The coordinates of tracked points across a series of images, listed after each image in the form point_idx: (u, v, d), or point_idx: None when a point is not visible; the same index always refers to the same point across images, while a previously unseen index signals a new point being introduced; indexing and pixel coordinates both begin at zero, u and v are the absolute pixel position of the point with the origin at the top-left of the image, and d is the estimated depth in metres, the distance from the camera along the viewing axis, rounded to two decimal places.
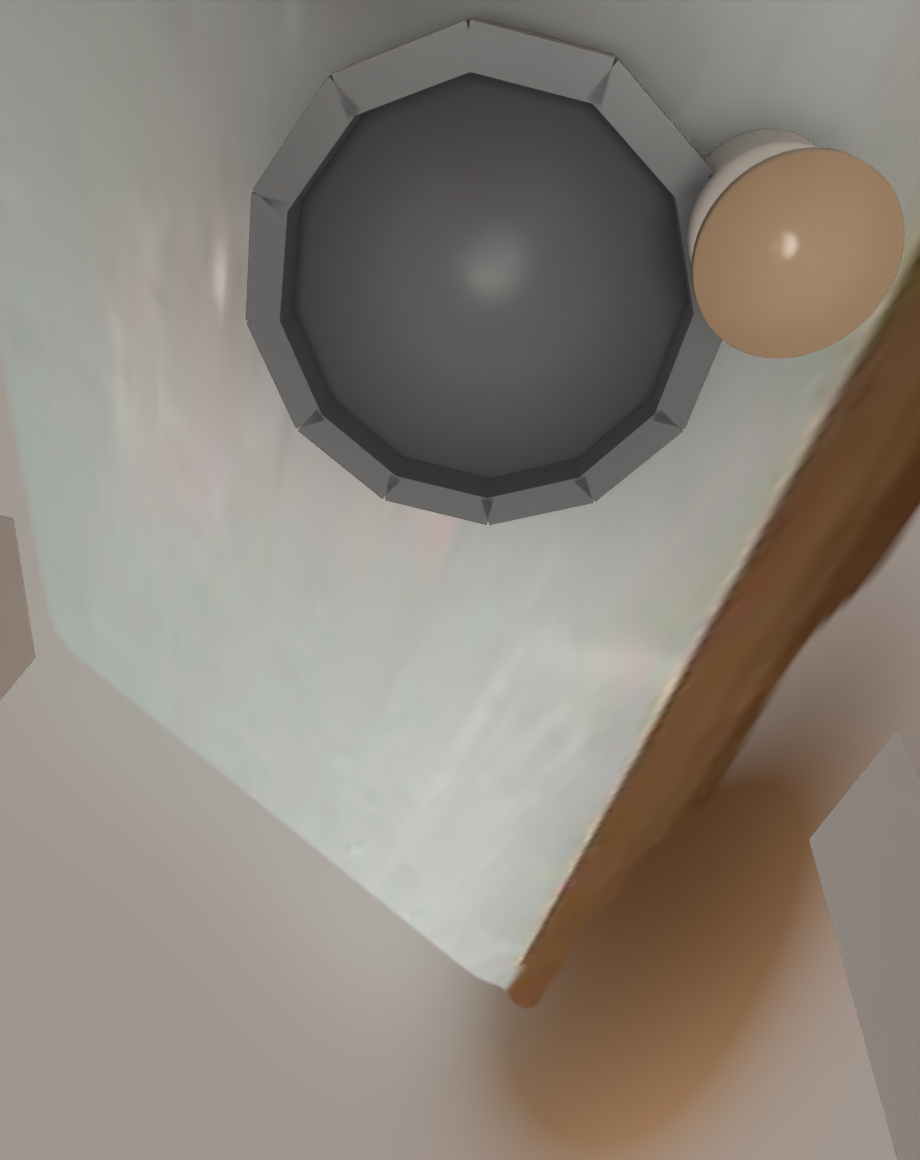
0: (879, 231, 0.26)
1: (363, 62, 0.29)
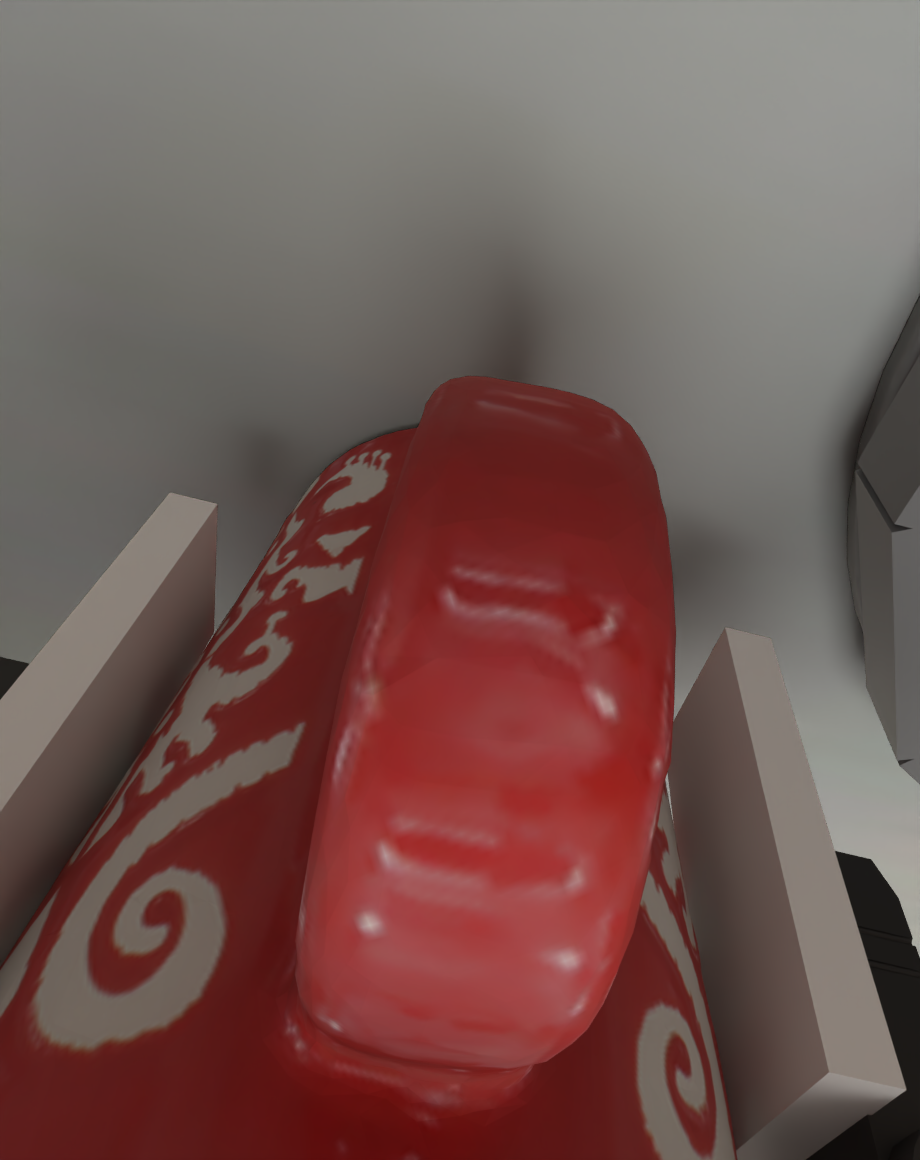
0: None
1: (898, 712, 0.14)
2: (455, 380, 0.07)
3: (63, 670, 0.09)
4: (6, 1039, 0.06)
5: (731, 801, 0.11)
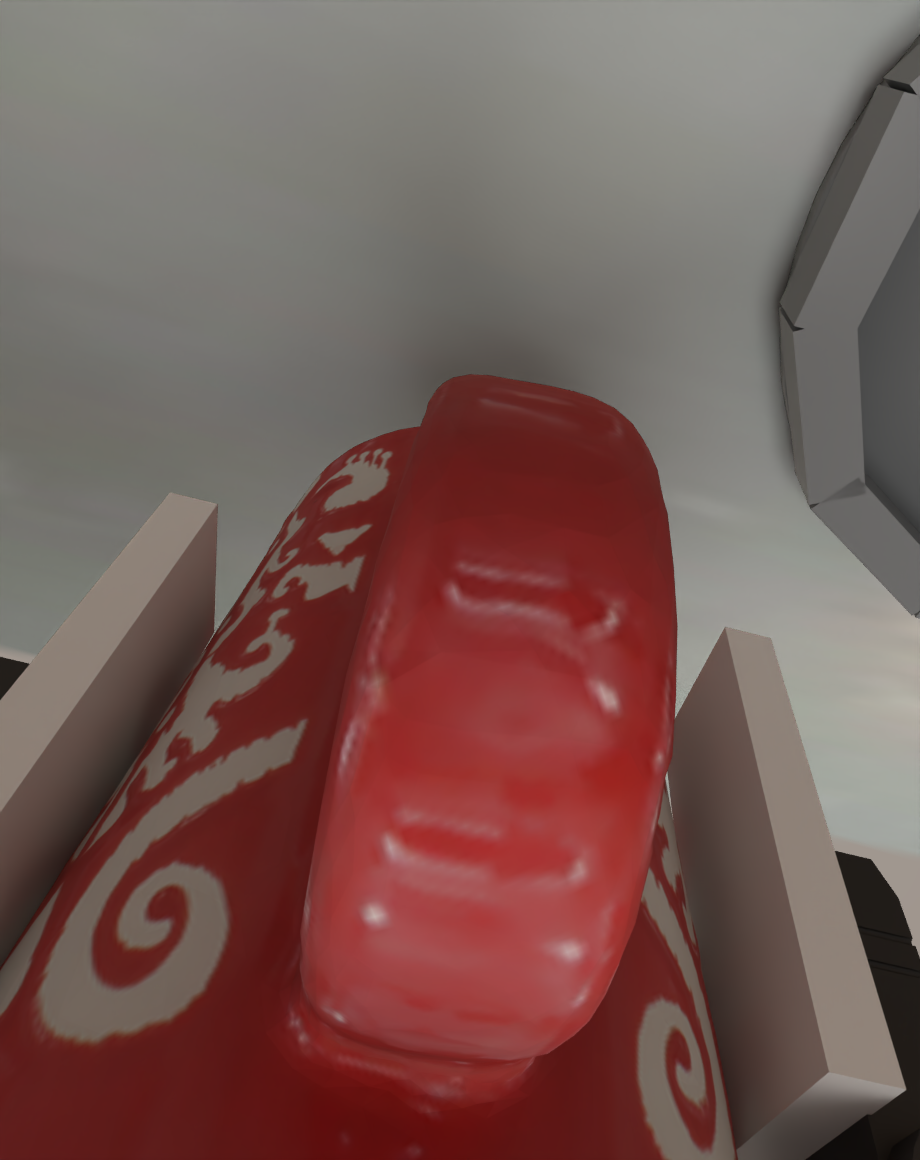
0: None
1: (807, 465, 0.22)
2: (458, 378, 0.07)
3: (64, 670, 0.09)
4: (10, 1033, 0.07)
5: (731, 800, 0.11)
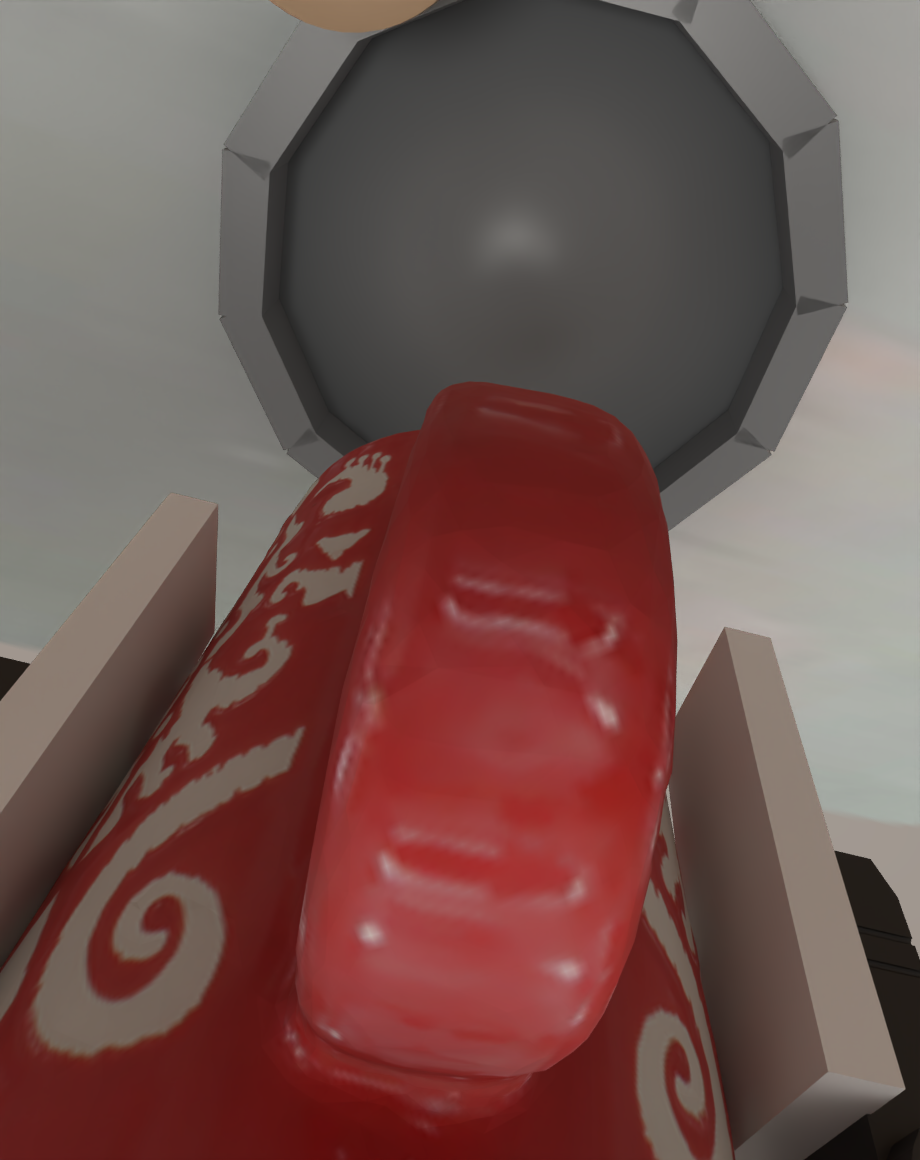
0: None
1: (270, 419, 0.30)
2: (456, 386, 0.07)
3: (64, 670, 0.09)
4: (5, 1046, 0.06)
5: (730, 801, 0.11)
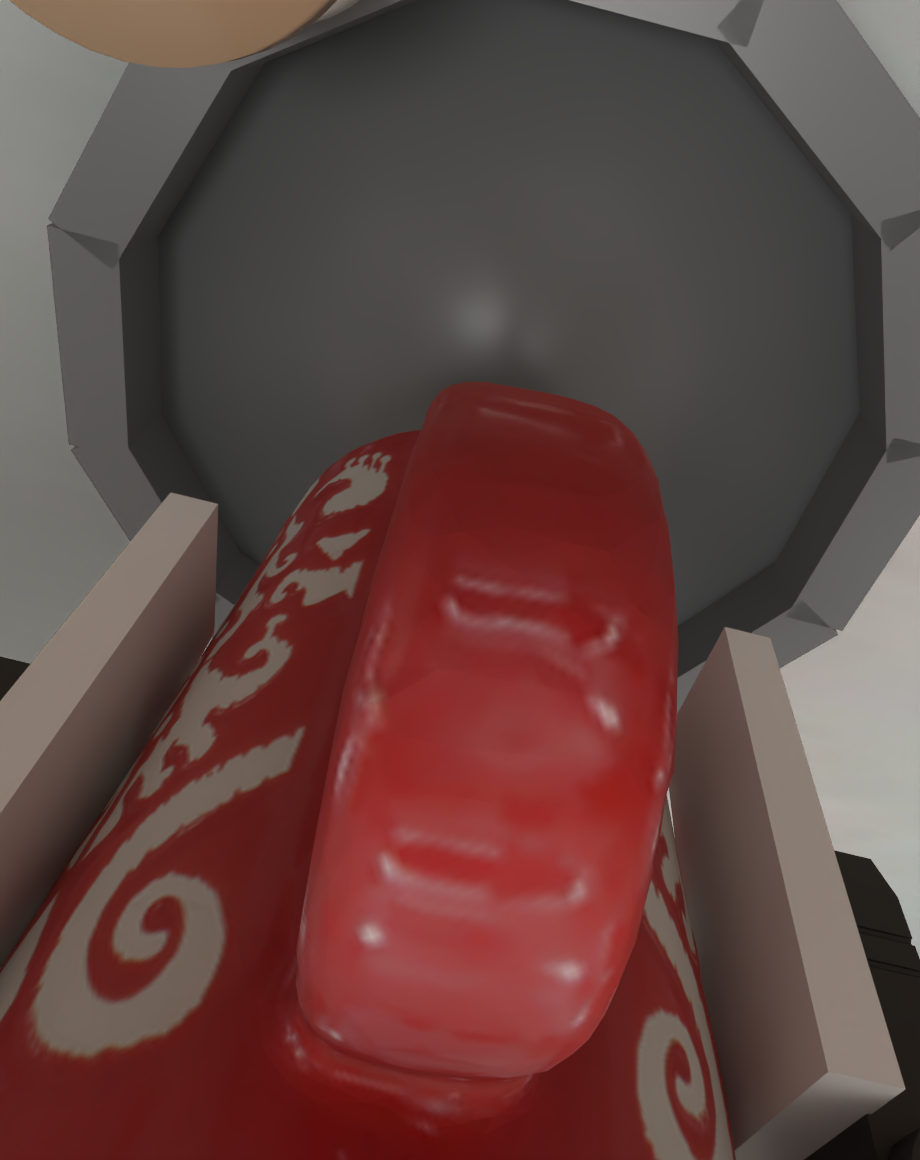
0: None
1: None
2: (457, 386, 0.07)
3: (64, 670, 0.09)
4: (5, 1046, 0.06)
5: (730, 800, 0.11)
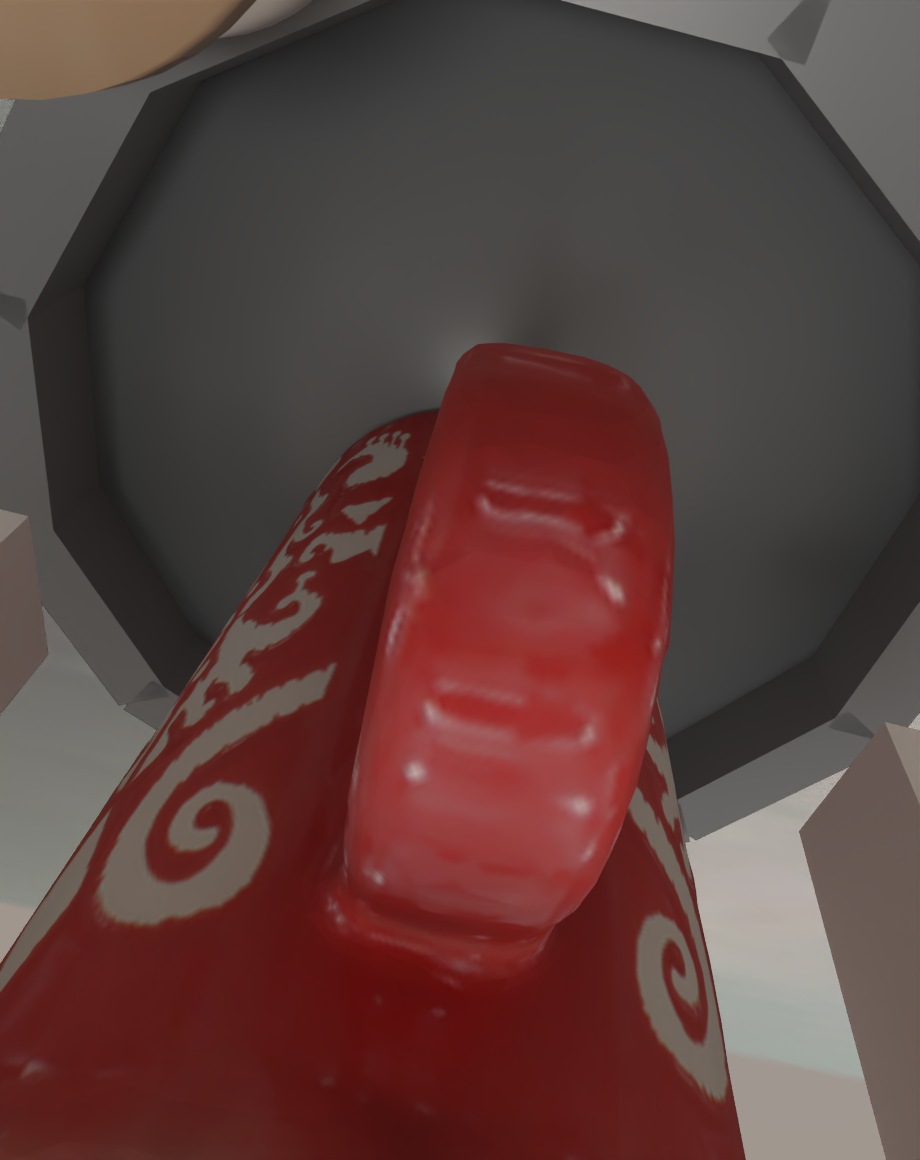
0: None
1: (92, 666, 0.19)
2: (482, 344, 0.08)
3: None
4: (74, 923, 0.07)
5: (919, 930, 0.10)
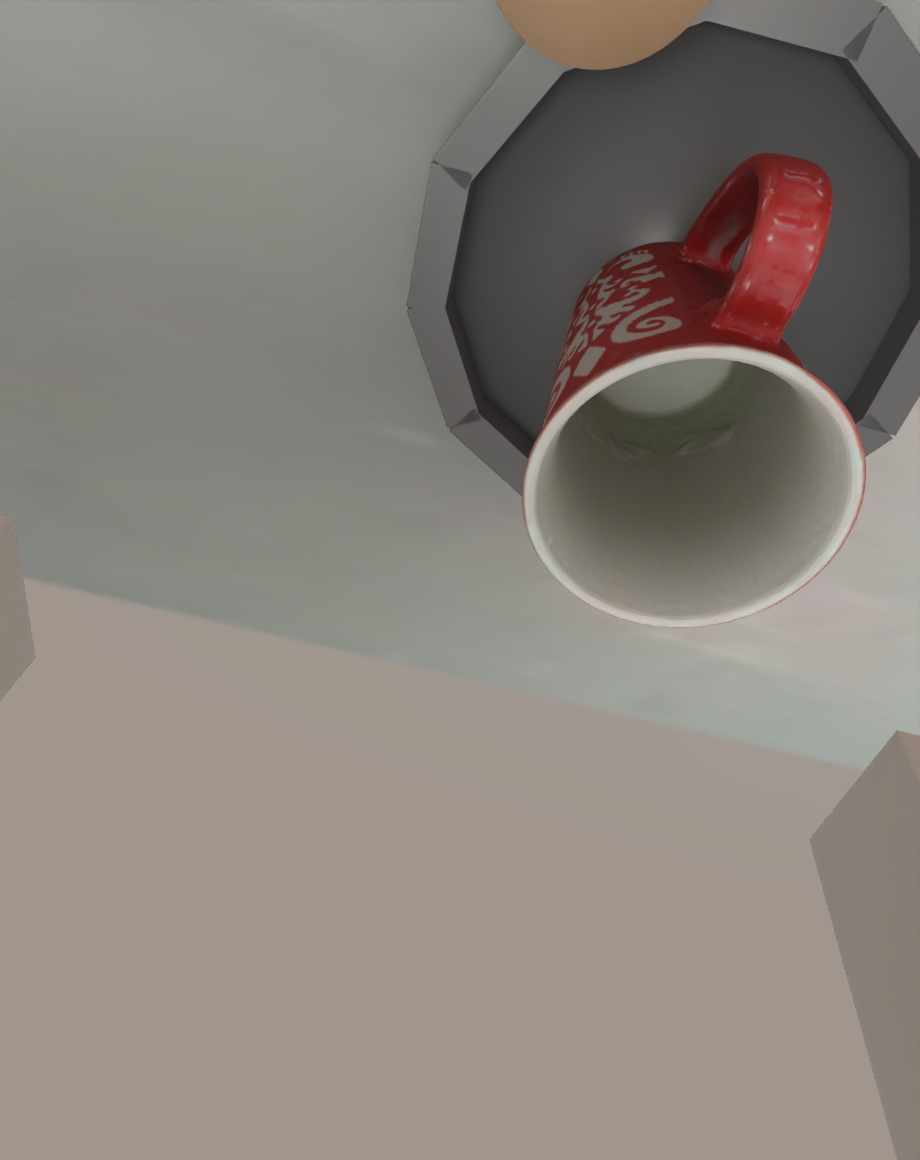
0: None
1: (439, 400, 0.34)
2: None
3: None
4: (616, 347, 0.22)
5: None
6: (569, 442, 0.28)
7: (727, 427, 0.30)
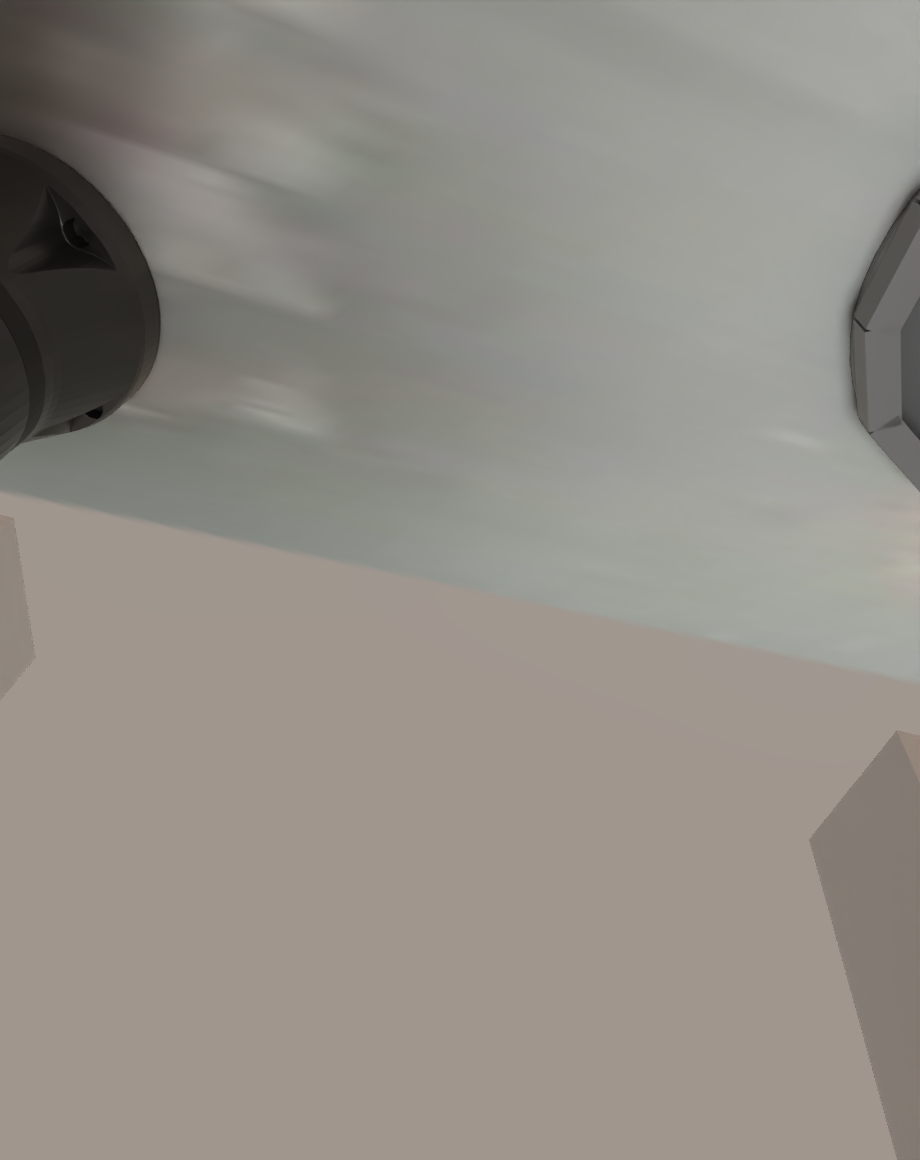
0: None
1: (868, 409, 0.39)
2: None
3: None
4: None
5: None
6: None
7: None
